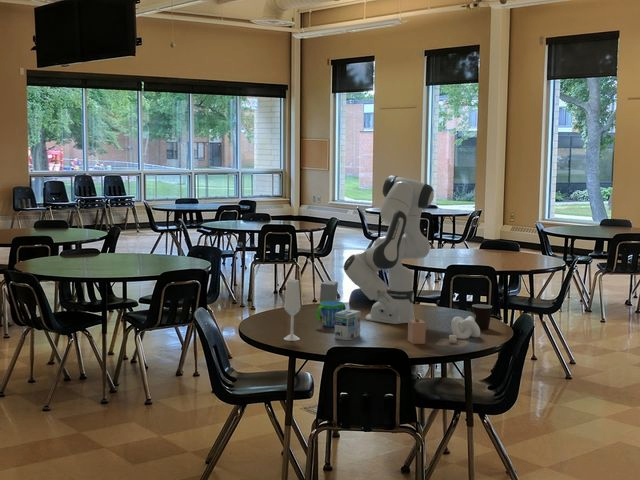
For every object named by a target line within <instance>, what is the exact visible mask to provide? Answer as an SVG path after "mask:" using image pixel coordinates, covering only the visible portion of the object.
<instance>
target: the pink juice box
mask: <svg viewBox="0 0 640 480" xmlns="http://www.w3.org/2000/svg"><path fill="white" fill-rule="evenodd" d="M407 324H408V325H407V341H408V342H410V344H413V345H417V344H419V345H420V344H426V335H427V333H426V331H427V323H426V322H425V321H424V320H423V319H420V318H417V317H416V318H415V320H408V323H407Z"/></svg>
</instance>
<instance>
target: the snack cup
mask: <svg viewBox="0 0 640 480" xmlns="http://www.w3.org/2000/svg"><path fill="white" fill-rule="evenodd" d="M346 307H347V306H346V305H345V304H344V302H343V301H338V300H337V301H323V302H320V301H319V306H318V307H317V310H316V314H315V319H316V320H317V321H320V320H322V321H321V322H322V326H323V327H327V328H335V313H337V312H340V311H343V310H346V309H347V308H346ZM320 310H321V316H322V317H321V316H320Z"/></svg>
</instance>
